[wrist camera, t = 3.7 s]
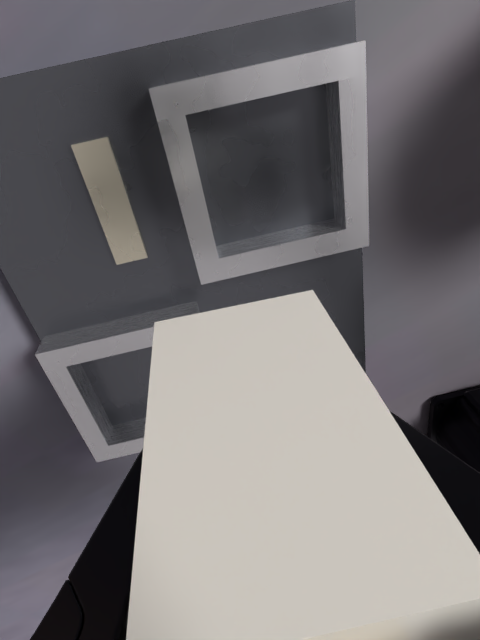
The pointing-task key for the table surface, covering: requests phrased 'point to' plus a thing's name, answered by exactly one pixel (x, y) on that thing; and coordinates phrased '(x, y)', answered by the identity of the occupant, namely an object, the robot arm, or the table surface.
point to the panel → (181, 198)
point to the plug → (286, 493)
